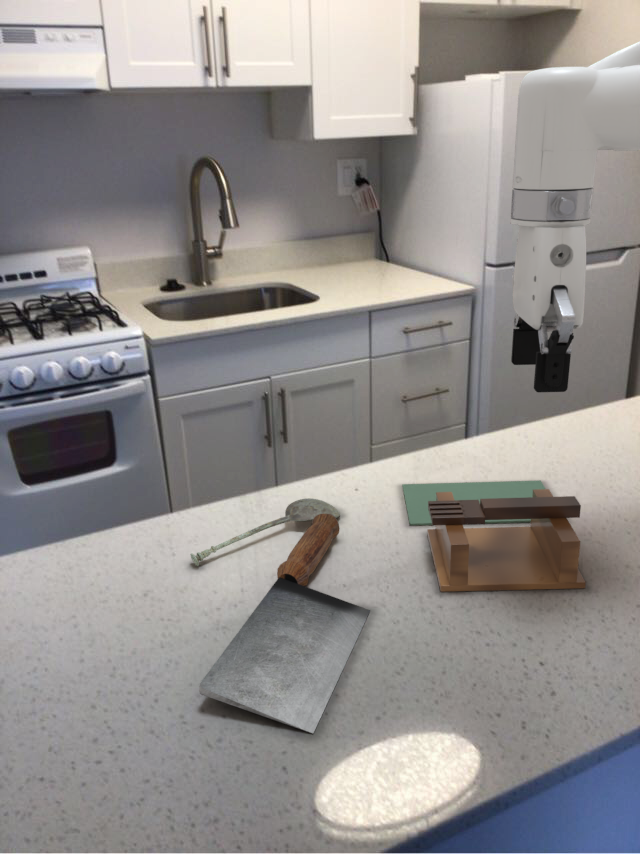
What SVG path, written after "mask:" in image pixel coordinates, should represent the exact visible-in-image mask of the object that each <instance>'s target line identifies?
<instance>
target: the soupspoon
mask: <svg viewBox="0 0 640 854" xmlns="http://www.w3.org/2000/svg"><path fill="white" fill-rule="evenodd" d="M284 512H285V513H284V515H285V516H282V517H280V518H277V519H274V520H271V521H269V522H266V523H264V524H261V525H259V526H256V527H255V528H252V529H250V530H247V531H246V532H243V533H241V534H239V535H236V536H234V537H232V538H230V539H228V540H226V541H223V542H221V543H219V544H217V545H215V546H214V545H211V546H210V548H208V549H207V548H206V549H203V550H202V551H200V552H196V555H195V554H194V553H193V552H192V553H191V552H190V559H191V561H192V562H193V564H194V565H195V566H196V567H199V565H200V562H203V561H204V559H206V558H207V557H209V556H211V554H212V553H214V554H215V553H217V551H219V550H221V549H223V548H225V547H228V546H230V545H232V544H235V543H237V542H240V541H242V540H244V539H246V538H249V537H251V536H254V535H256V534H258V533H260V532H263V531H265V530H268V529H270V528H273V527H275V526H279V525H282V524H286V523H289V522H305V521H313V519H314V517H316V516H317V515H319V514H331V515H333V516H334V517H336V519H337V518H339V517H340V516H341V513H340V511H339V510H338V509H337V508H335V507H334V506H333V505H331V504H330V503H329V502H327V501H324V500H321V499H318V498H311V497H310V498H300V499H297V500H295V501H293V502H291V503H289V504H288V505H287V507H286V508H285V510H284Z"/></svg>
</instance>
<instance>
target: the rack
mask: <svg viewBox="0 0 640 854" xmlns="http://www.w3.org/2000/svg"><path fill="white" fill-rule="evenodd" d="M532 497H554V495H553V494H552V492H551V490H550V489H549V488H545V489H536V490H533V495H532ZM451 500H454V497H453V494H452V492H436V501H451ZM434 526H435V528H428V529H427V532H426V533H427V538H428V543H429V547H430V551H431V552H430V553H431V555H432V560H433V565H434V568H435V574H436V577H437V582H438V586H439V590H440V592H443V593H444V592H482V591H483V592H486V591H488V592H489V591H525V590H526V591H527V590H529V591H531V590H567V589H571V590H572V589H574V590H575V589H586V582H587V581H586V580H585V579H584V577H583V575H582V573H581V571H580V569H579V562H580V552H581V543H582V542H581V539H580V538H579V537H578V535H577V533H576V531H575V529H574V528H573V527H572V525H571V523H570V521H569V519H568V518H546V519H531V522H530V526H504V527H503V526H500V527H499V526H498V527H464V525H434Z"/></svg>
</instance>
